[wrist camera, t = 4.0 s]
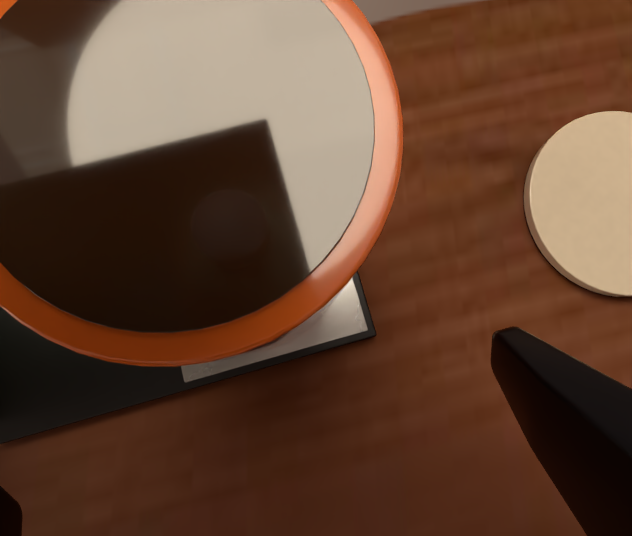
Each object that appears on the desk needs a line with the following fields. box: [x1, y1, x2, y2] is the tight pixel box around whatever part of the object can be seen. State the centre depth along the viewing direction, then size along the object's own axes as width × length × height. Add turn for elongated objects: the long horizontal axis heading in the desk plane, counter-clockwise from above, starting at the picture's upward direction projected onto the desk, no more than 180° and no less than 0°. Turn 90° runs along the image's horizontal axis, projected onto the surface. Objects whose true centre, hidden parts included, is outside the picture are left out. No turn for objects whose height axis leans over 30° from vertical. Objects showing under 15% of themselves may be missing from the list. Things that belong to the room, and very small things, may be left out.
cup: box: [0, 0, 404, 367], centre depth 14 cm, size 7×7×13 cm
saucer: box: [524, 111, 632, 297], centre depth 21 cm, size 8×8×1 cm
